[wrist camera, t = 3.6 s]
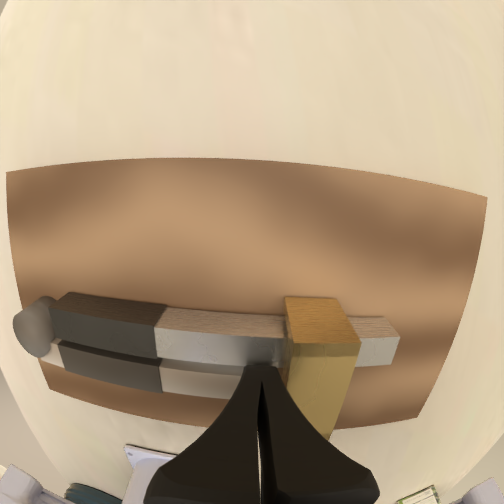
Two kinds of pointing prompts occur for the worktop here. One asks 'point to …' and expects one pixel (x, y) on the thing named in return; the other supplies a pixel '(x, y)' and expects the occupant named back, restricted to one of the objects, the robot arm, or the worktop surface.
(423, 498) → the syrup box
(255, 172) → the tong board
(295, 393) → the wooden u-shaped block
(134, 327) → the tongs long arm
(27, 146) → the worktop surface
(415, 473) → the worktop surface
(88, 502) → the canister
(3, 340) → the worktop surface
